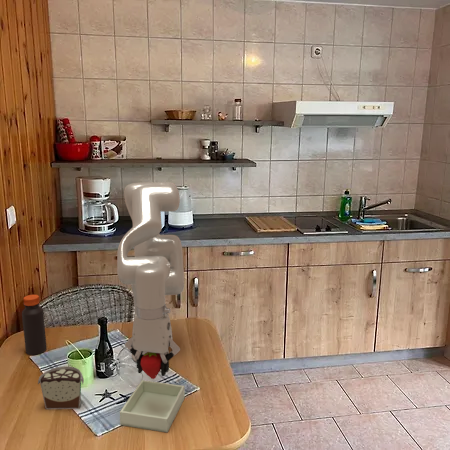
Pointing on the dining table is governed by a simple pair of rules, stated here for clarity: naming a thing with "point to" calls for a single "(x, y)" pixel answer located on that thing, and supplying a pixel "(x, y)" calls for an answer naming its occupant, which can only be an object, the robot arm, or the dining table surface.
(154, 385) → the serving tray
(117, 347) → the dining table surface
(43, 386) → the food container
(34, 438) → the dining table surface
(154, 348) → the robot arm
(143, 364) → the strawberry
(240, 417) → the dining table surface
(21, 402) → the dining table surface
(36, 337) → the bottle
